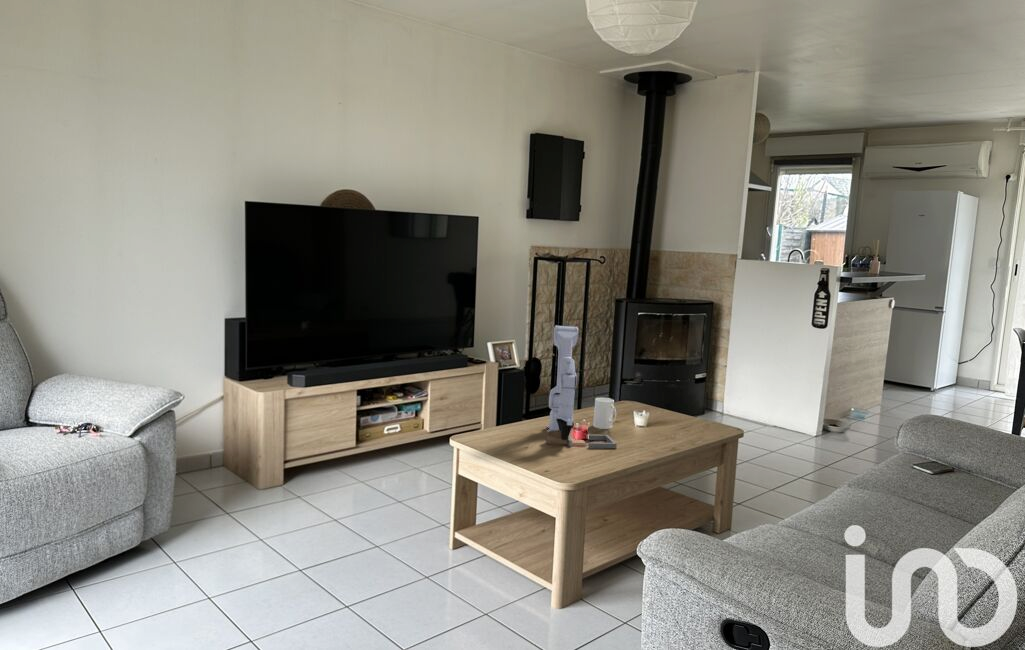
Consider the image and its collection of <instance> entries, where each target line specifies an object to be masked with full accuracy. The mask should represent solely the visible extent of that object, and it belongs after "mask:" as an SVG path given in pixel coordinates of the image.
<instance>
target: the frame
mask: <svg viewBox="0 0 1025 650" xmlns="http://www.w3.org/2000/svg"><path fill="white" fill-rule="evenodd" d="M588 435H589V440H588V441H605V440H606V441H607V442H606V441H605V442H588V449H604V448H616V449H617V445H618V443H617V442H616V441H615V440H613V438H611V437H610V436H609V435H608V434H588Z"/></svg>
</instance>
